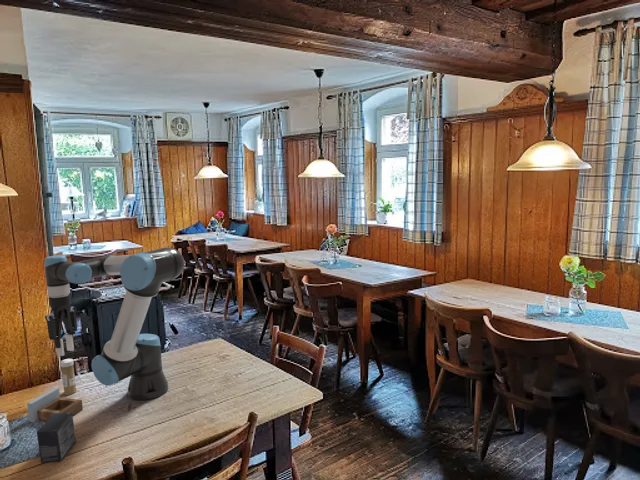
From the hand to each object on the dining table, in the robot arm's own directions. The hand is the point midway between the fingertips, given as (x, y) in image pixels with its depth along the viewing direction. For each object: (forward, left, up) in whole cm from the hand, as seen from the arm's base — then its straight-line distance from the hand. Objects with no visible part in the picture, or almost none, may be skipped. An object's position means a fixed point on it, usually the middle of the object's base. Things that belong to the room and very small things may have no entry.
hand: (65, 352), depth 183 cm
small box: (-28, +35, -17) cm, 48 cm away
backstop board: (-4, +16, -17) cm, 23 cm away
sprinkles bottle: (0, 0, -17) cm, 17 cm away
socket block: (-11, +16, -17) cm, 26 cm away
